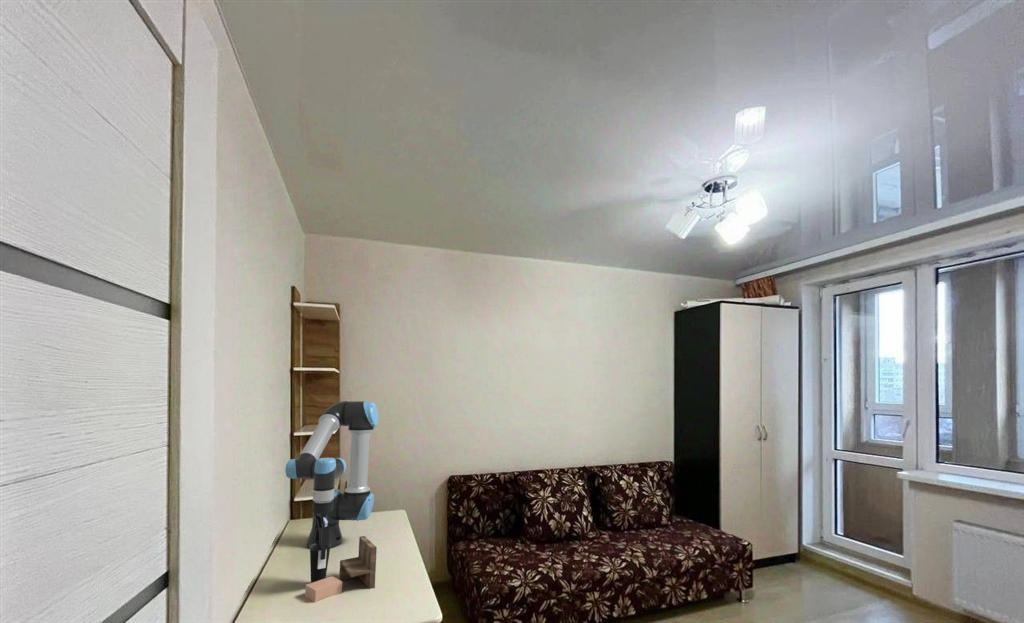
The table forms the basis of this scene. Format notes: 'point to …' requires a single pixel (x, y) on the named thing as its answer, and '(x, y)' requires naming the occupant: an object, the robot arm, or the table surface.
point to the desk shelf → (361, 564)
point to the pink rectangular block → (323, 588)
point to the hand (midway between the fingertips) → (319, 564)
